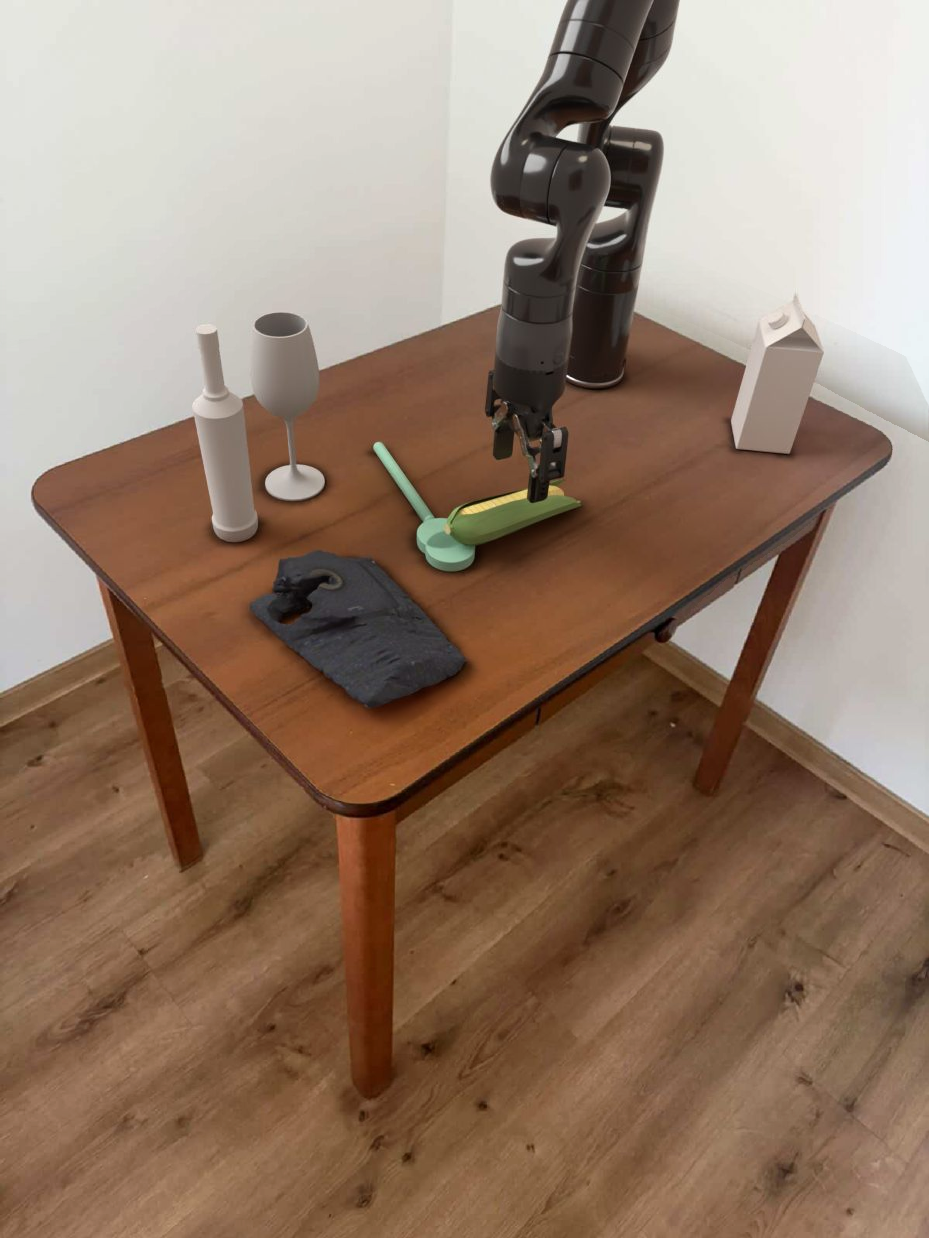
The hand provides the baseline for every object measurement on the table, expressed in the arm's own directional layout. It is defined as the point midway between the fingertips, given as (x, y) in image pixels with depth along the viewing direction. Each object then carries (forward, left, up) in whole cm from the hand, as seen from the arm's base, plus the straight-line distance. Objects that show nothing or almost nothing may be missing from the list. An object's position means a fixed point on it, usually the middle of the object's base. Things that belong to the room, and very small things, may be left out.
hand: (519, 478), depth 109 cm
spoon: (-8, -9, -7) cm, 14 cm away
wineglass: (-18, -21, -8) cm, 29 cm away
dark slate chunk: (+10, -23, -8) cm, 26 cm away
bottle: (-12, -30, -8) cm, 33 cm away
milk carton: (-5, +40, -8) cm, 41 cm away
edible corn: (0, 0, -7) cm, 7 cm away
